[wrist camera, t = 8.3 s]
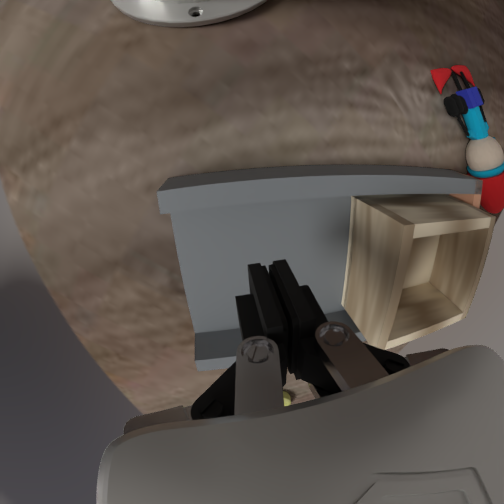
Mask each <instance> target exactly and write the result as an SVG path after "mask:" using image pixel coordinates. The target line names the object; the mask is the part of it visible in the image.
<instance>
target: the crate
mask: <svg viewBox="0 0 504 504" xmlns="http://www.w3.org/2000/svg"><path fill="white" fill-rule="evenodd" d="M495 219H496V217H495V216H493V215H491V214H489V213H487V212H485V211H483V210H481V209H479V208H477V207H474V206H472V205H470V204H468V203H466V202H463V201H461V200H459V199H456V198H454V197H452V196H449V195H447V194H388V195H361V196H351V213H350V229H349V241H348V252H347V262H346V271H345V280H344V288H343V296H342V303H341V304H342V306H343V307H344V309H345V310H346V311H347V313H348V314H349V316H350V317H351V319H352V320H353V321H354V323H355V324H356V326H357V327H358V329H359V330H360V332H361V333H362V334H363V336H364V337H365V339H366V340H367V342H368V343H369V345H371V346H374V347H377V348H380V349H383V350H386V349H389V348H392V347H395V346H398V345H400V344H403V343H406V342H409V341H411V340H414V339H416V338H419V337H422V336H424V335H427V334H430V333H432V332H435V331H437V330H439V329H442V328H444V327H446V326H449V325H451V324H453V323H455V322H457V321H460V320H462V319H464V318H466V315H467V313H468V310H469V308H470V305H471V303H472V300H473V298H474V295H475V292H476V289H477V286H478V283H479V280H480V277H481V274H482V271H483V268H484V264H485V260H486V257H487V254H488V250H489V245H490V242H491V238H492V233H493V228H494V224H495Z"/></svg>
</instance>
